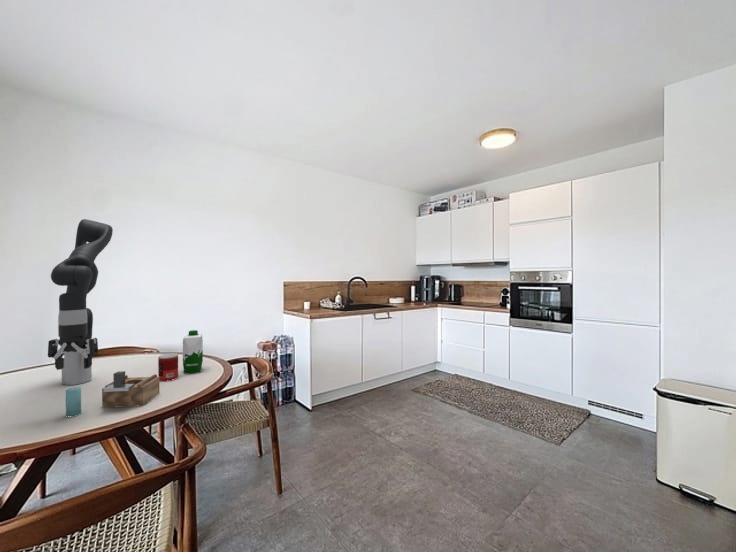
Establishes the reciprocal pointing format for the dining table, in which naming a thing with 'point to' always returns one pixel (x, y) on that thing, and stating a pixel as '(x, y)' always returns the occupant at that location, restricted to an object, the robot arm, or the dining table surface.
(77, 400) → the dowel
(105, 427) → the dining table surface
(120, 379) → the latch bar
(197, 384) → the dining table surface
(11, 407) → the dining table surface
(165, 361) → the canned food
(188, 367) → the milk carton
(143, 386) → the socket block
